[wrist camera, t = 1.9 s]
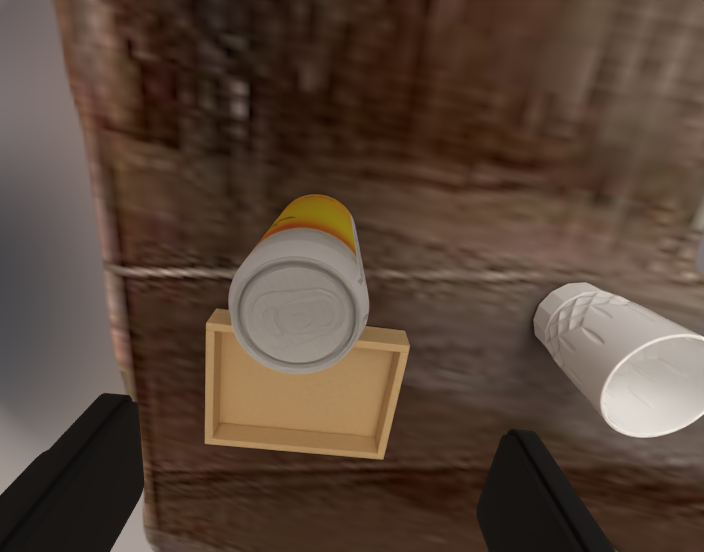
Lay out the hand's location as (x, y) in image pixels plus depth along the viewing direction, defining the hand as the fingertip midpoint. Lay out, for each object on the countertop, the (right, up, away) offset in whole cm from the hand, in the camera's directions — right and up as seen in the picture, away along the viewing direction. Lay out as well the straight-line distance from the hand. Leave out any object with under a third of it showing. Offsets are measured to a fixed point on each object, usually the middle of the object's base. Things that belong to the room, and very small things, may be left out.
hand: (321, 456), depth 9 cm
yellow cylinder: (-2, +8, +20) cm, 21 cm away
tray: (-4, -5, +24) cm, 25 cm away
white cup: (+20, +1, +23) cm, 31 cm away
